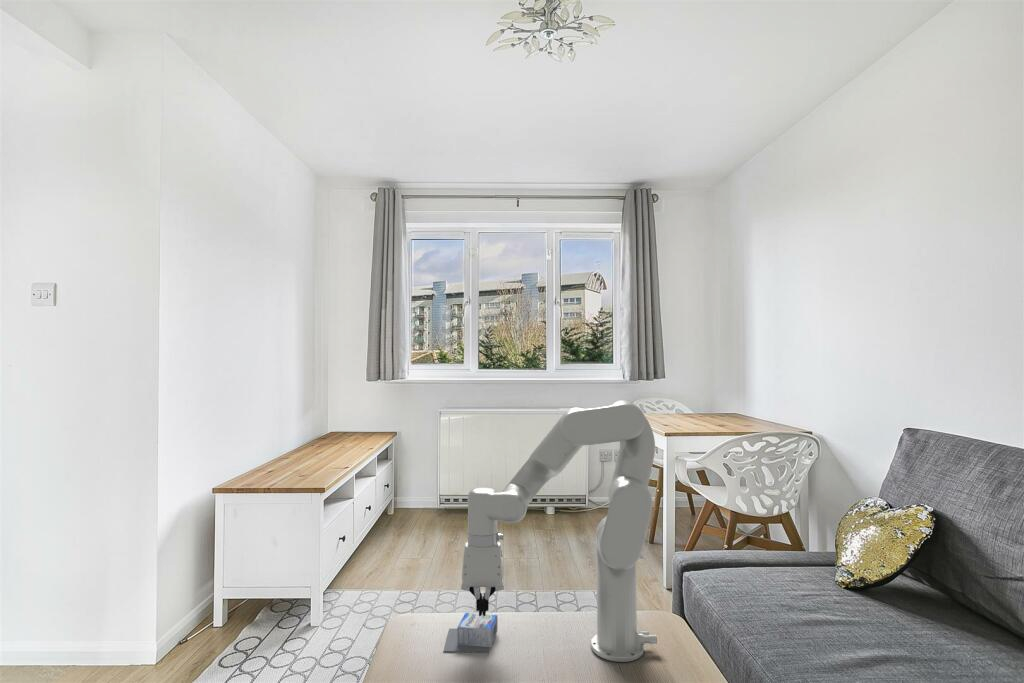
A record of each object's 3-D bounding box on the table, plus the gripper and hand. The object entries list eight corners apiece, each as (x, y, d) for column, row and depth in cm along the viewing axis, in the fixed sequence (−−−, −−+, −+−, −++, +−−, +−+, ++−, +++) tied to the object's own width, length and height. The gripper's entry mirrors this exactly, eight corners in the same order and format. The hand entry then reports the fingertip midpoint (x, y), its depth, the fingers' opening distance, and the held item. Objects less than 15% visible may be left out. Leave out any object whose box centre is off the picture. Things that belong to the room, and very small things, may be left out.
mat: (491, 629, 138) (491, 628, 139) (489, 652, 128) (489, 651, 128) (449, 629, 139) (449, 628, 139) (443, 652, 128) (443, 650, 128)
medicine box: (491, 629, 129) (457, 626, 131) (491, 648, 129) (456, 645, 130) (497, 614, 137) (465, 611, 138) (497, 632, 137) (464, 629, 138)
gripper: (512, 534, 137) (512, 607, 137) (454, 534, 138) (454, 606, 137) (512, 543, 130) (512, 620, 129) (451, 543, 130) (450, 620, 129)
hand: (482, 613), depth 133 cm, fingers closed
